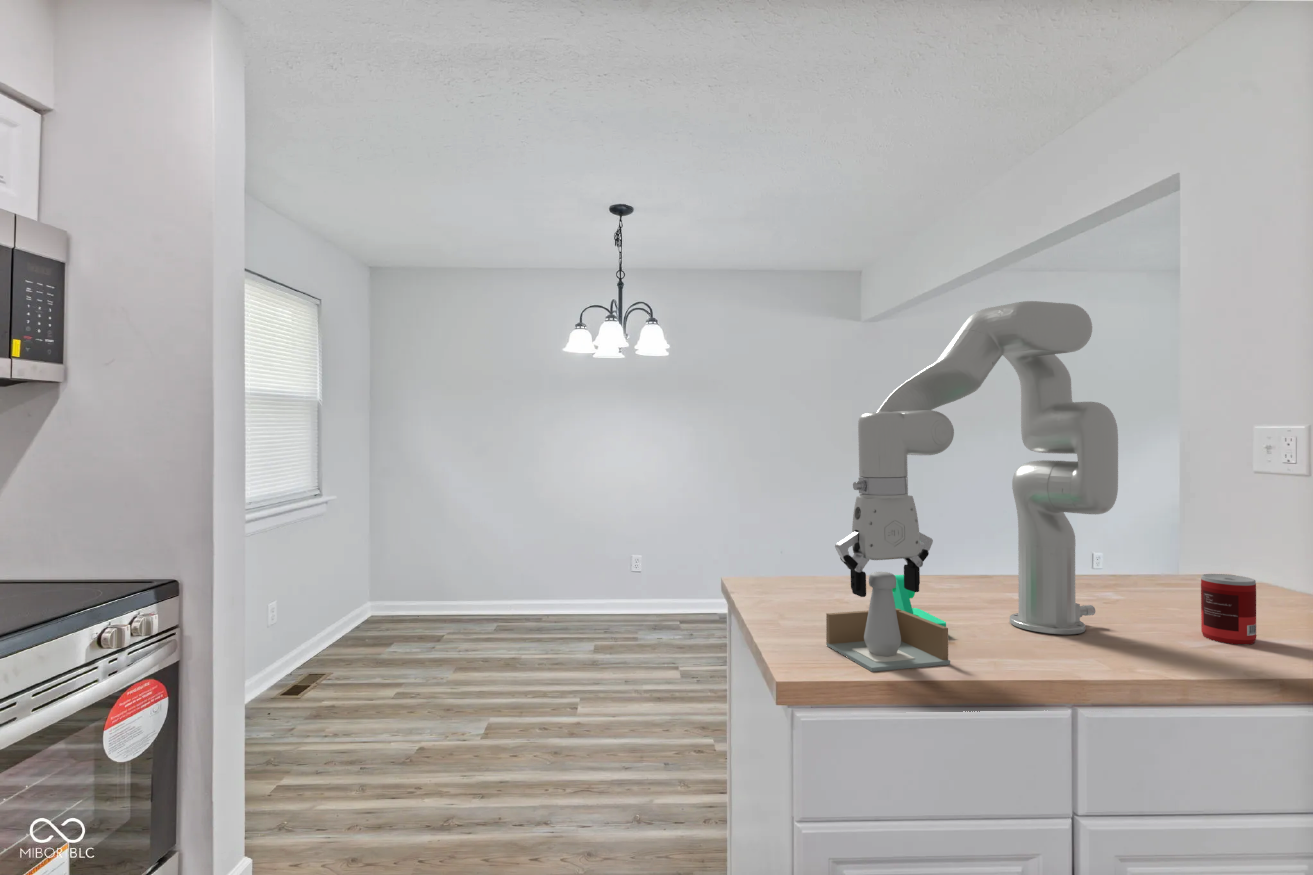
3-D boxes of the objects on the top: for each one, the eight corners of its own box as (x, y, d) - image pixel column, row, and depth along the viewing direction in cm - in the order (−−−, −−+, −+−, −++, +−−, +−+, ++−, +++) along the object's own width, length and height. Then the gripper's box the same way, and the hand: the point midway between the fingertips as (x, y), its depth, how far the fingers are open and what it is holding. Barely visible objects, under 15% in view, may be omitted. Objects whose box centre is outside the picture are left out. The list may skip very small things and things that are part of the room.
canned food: (1247, 635, 127) (1247, 575, 127) (1263, 647, 119) (1263, 583, 120) (1195, 631, 130) (1195, 572, 130) (1208, 642, 123) (1208, 579, 123)
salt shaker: (900, 660, 109) (900, 577, 109) (862, 656, 111) (862, 574, 111) (901, 649, 115) (901, 570, 115) (865, 646, 117) (865, 568, 117)
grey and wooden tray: (897, 640, 123) (897, 608, 123) (950, 664, 110) (950, 628, 110) (826, 645, 120) (826, 613, 120) (871, 671, 106) (871, 634, 106)
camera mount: (948, 637, 126) (948, 580, 126) (907, 638, 125) (907, 581, 125) (917, 621, 138) (917, 568, 138) (880, 621, 137) (879, 569, 137)
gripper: (847, 491, 107) (850, 602, 108) (944, 487, 112) (946, 593, 112) (824, 488, 115) (826, 592, 115) (915, 484, 119) (917, 584, 119)
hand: (885, 592), depth 113 cm, fingers open, 9 cm apart
